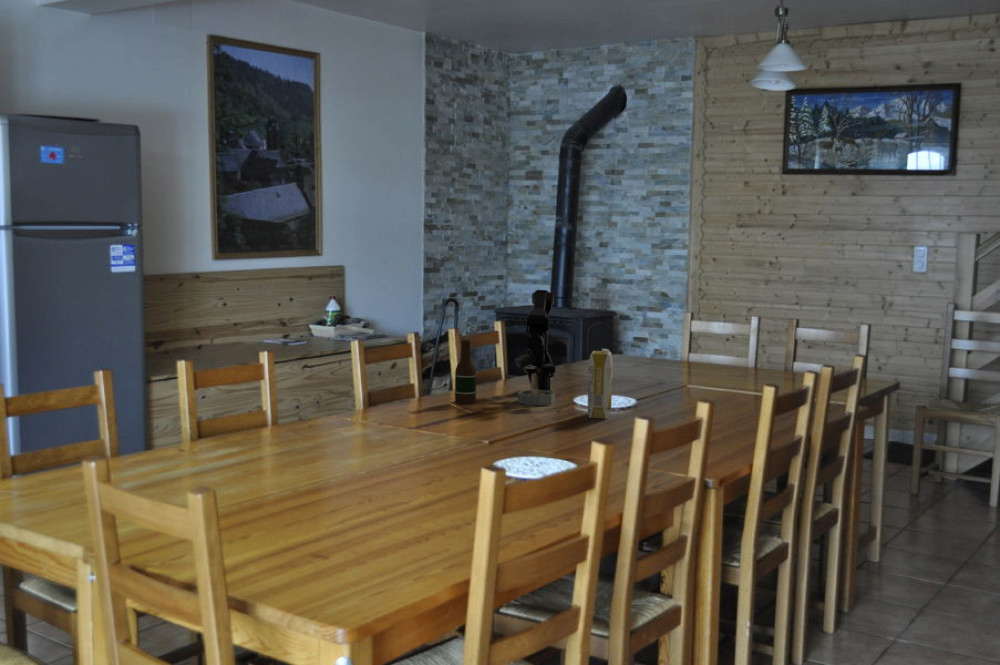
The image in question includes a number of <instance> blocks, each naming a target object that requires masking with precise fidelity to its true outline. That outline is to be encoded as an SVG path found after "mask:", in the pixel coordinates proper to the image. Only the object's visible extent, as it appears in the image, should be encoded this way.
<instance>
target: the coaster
mask: <svg viewBox="0 0 1000 665" xmlns="http://www.w3.org/2000/svg"><path fill="white" fill-rule="evenodd" d="M482 398H484V399H486V400H489V401H491V402H499V401H510V400H511V401H512V400H514V398H511V397H508V396H506V395H491V396H482Z"/></svg>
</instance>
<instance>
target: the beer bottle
mask: <svg viewBox="0 0 1000 665" xmlns="http://www.w3.org/2000/svg"><path fill="white" fill-rule="evenodd" d="M460 344H461V348H460V349H461V350H460V359H459V362H458V364H457V365H456V368H455V372H454V374H455V375H454V378H455V379H454V402H455V404H459V405H473V404H475V403H476V400H477V399H476V398H477V371H476V370H477V369H476V367H475V365H474V364H473V362H472V354H471V353H472V351H471V344H472V341H471V340H470V339H461V341H460Z"/></svg>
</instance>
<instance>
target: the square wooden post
mask: <svg viewBox="0 0 1000 665" xmlns="http://www.w3.org/2000/svg"><path fill="white" fill-rule="evenodd" d="M530 390H531V395H534V396H541V393H542V389H541V390H538V381H537V375H536V374H531V385H530Z"/></svg>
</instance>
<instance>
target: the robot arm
mask: <svg viewBox="0 0 1000 665" xmlns="http://www.w3.org/2000/svg"><path fill="white" fill-rule="evenodd" d="M531 294H532V295H531V303H532V305H533V309H532V310H530V311H529V315H528V316H527V317H526V328H525V329H526V330H525V333H527V334H528V333H529V337H528V339H527V341H526V346H527V348H528V349H526V351H525V352H526V353H525V354H523V355H520V356H518V357H516V358H514V362H515V365H516V368H519V369H521V370H523V371H524V372H525V373H526V374H527V378H528V381H529V384H530V386H531V374H536V375H537V381H538V390H541V389H542V390H547V391H551V392H553V390H551V378H554V377H555V373H556V368H557V367H556V366H555V364H553V362H552V358H551V355H550V354H549V352H548V338H549V336H548V335H549V334H548V333H549V330H550V319H549V314H550V312H551V311H552V309H553V305H554V304H555V295H554V293H552V292H550V291H549V290H547V289H536V290H535V291H534V292H532V293H531Z"/></svg>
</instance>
